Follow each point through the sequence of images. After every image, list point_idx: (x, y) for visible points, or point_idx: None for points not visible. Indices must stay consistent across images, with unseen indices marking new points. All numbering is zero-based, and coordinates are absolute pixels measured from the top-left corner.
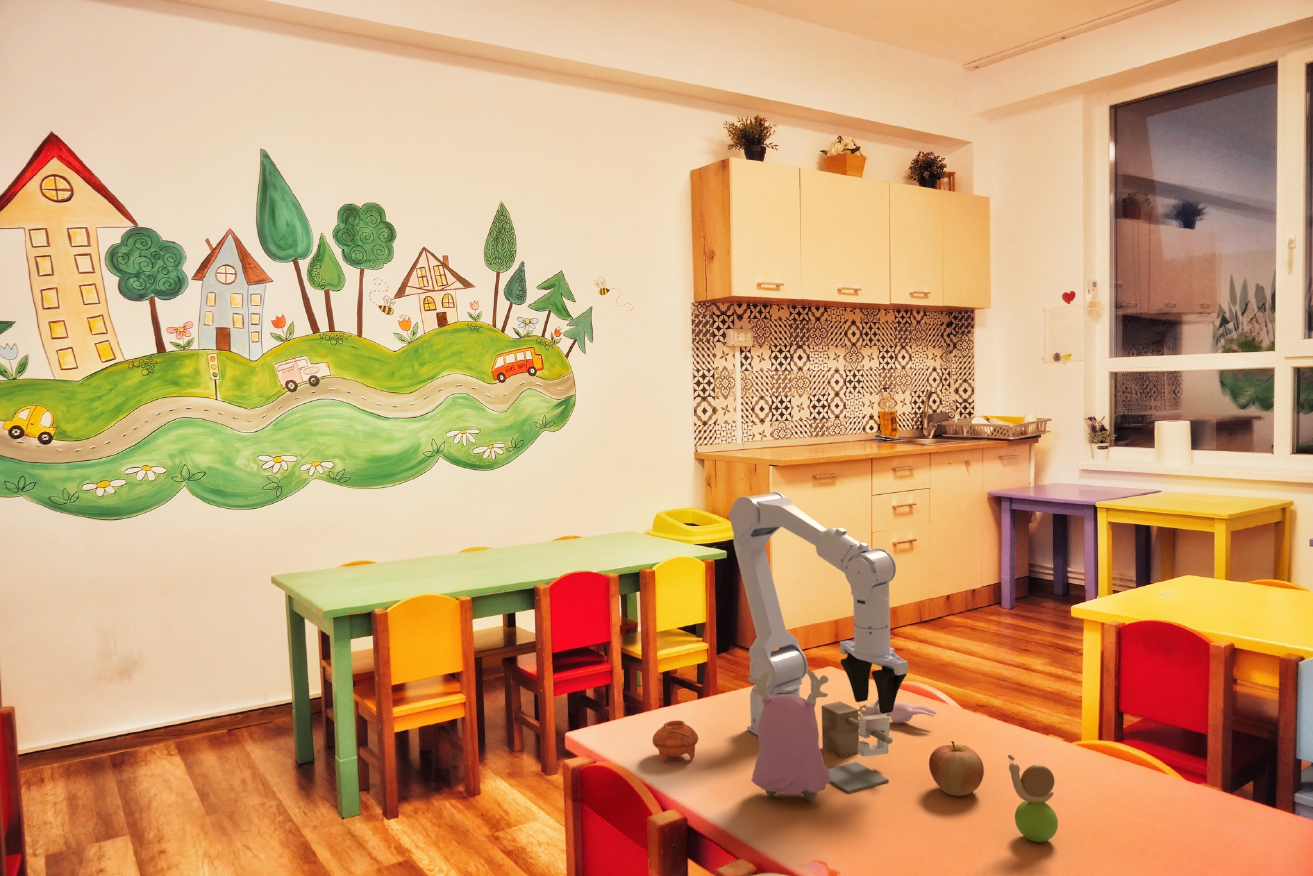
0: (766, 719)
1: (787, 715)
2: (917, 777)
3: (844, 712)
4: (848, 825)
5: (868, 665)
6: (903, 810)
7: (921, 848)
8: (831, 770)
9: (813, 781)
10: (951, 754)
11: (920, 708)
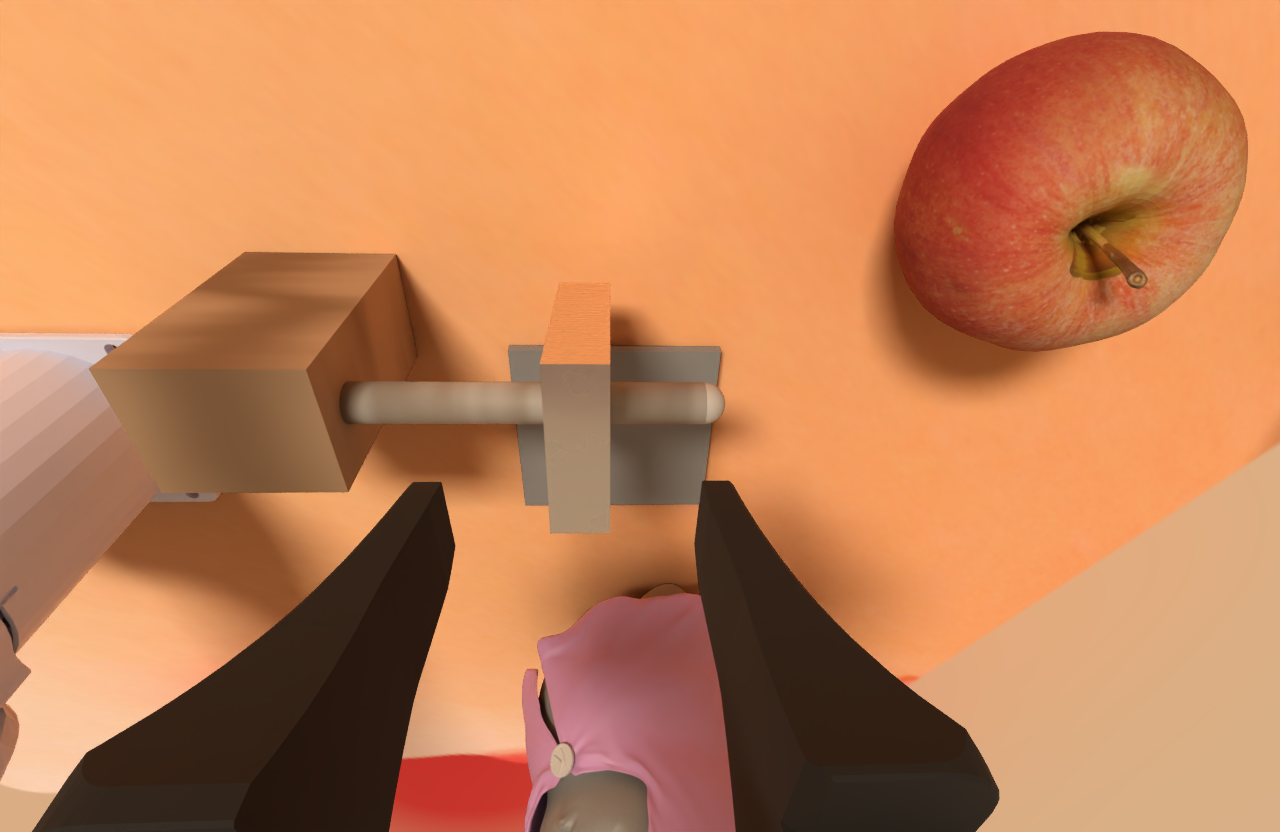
0: None
1: None
2: (764, 213)
3: (330, 459)
4: (839, 584)
5: (316, 746)
6: (900, 439)
7: (1057, 525)
8: (537, 465)
9: None
10: (1126, 324)
11: None
